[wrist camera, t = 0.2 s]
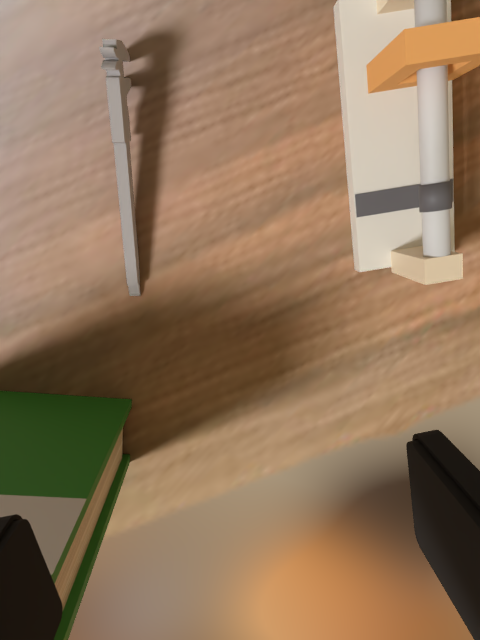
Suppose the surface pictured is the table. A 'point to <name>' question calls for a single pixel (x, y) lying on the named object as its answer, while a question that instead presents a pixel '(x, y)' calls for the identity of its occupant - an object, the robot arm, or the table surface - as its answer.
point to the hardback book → (63, 480)
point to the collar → (426, 54)
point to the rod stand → (397, 146)
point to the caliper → (122, 153)
